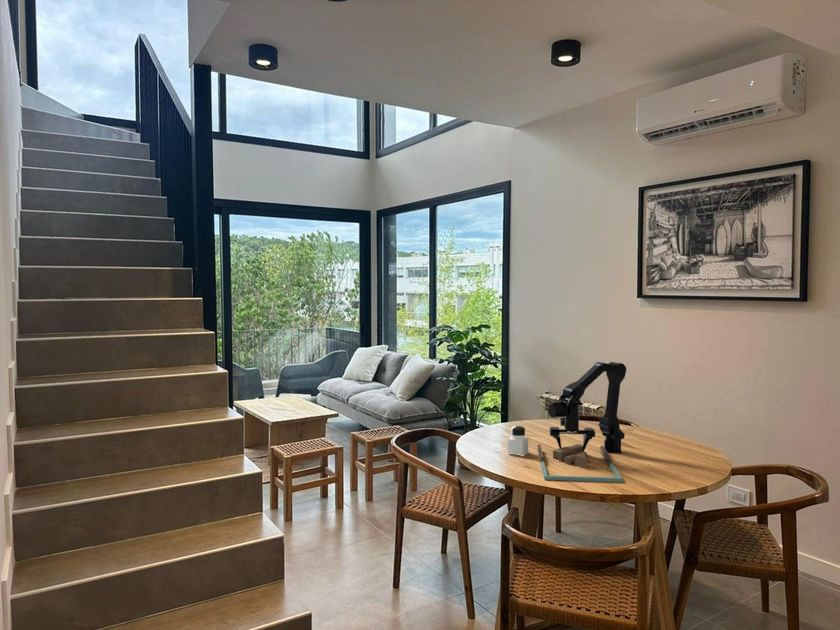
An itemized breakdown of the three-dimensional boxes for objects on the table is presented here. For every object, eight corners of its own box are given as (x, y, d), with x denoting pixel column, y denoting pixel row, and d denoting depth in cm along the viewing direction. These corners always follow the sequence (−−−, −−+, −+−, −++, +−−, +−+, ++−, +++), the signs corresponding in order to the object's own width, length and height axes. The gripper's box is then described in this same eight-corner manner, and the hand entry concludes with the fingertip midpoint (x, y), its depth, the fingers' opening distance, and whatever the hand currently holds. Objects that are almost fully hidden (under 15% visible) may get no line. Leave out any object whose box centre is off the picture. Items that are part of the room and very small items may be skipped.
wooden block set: (551, 447, 241) (577, 440, 252) (551, 461, 241) (578, 453, 252) (584, 456, 228) (611, 448, 238) (584, 470, 228) (611, 462, 239)
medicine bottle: (528, 452, 252) (528, 426, 252) (523, 456, 246) (522, 429, 246) (513, 450, 256) (513, 424, 256) (507, 454, 250) (507, 427, 250)
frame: (612, 467, 230) (612, 463, 230) (622, 482, 211) (622, 478, 211) (541, 465, 234) (540, 461, 234) (544, 480, 215) (544, 476, 215)
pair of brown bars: (603, 452, 251) (603, 445, 251) (612, 466, 231) (611, 458, 231) (537, 451, 255) (537, 444, 255) (540, 464, 235) (540, 457, 235)
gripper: (591, 412, 252) (591, 447, 252) (548, 411, 254) (548, 446, 255) (595, 417, 241) (595, 454, 241) (550, 416, 243) (550, 452, 244)
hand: (571, 451), depth 246 cm, fingers open, 9 cm apart
